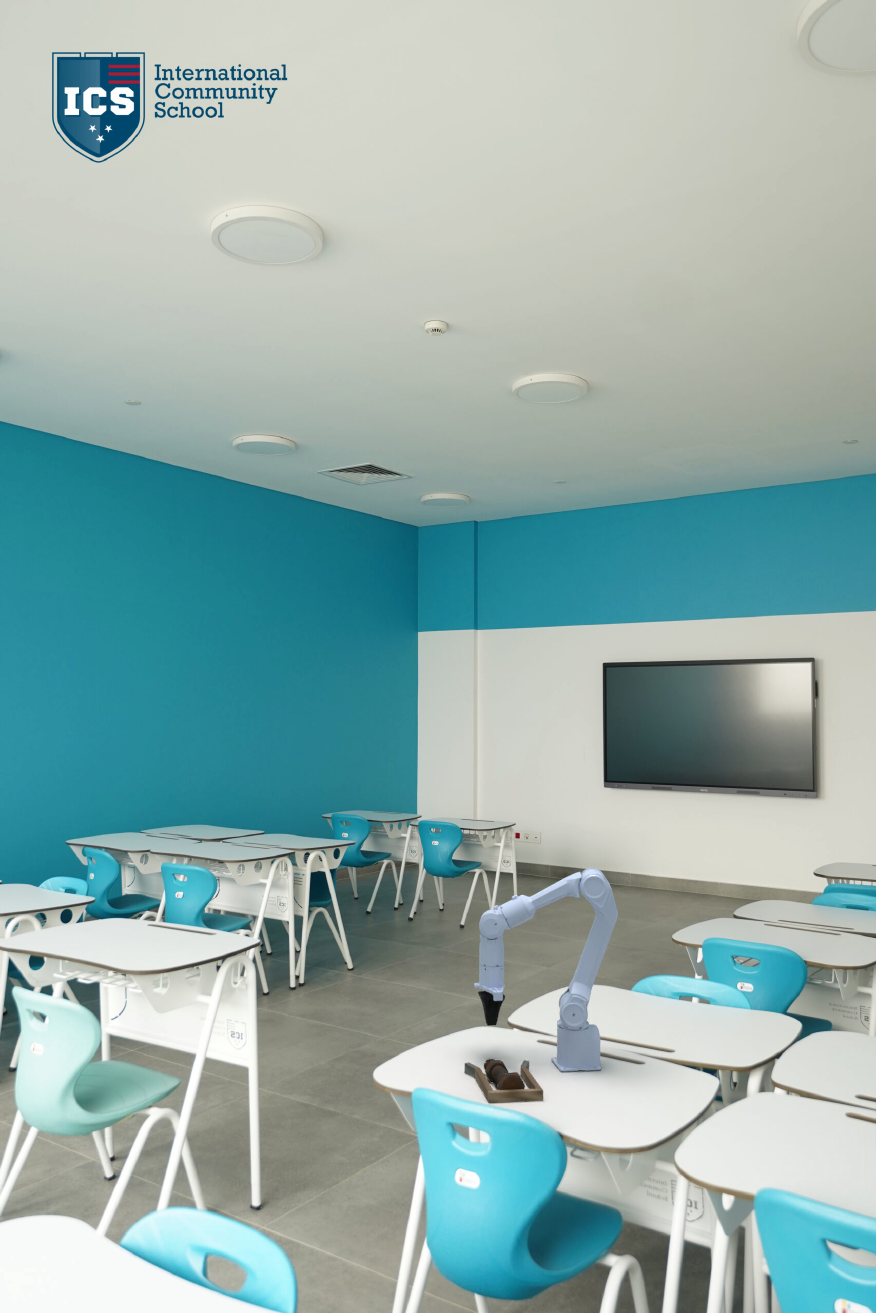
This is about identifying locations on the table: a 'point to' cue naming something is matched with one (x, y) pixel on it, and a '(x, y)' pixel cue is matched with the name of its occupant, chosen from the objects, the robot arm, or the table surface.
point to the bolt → (502, 1075)
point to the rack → (507, 1095)
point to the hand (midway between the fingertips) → (491, 1024)
